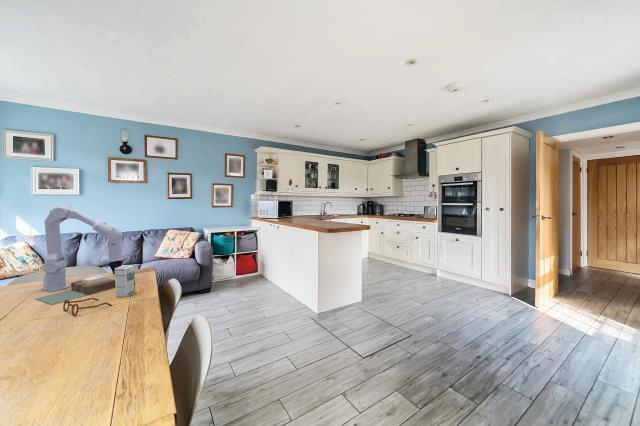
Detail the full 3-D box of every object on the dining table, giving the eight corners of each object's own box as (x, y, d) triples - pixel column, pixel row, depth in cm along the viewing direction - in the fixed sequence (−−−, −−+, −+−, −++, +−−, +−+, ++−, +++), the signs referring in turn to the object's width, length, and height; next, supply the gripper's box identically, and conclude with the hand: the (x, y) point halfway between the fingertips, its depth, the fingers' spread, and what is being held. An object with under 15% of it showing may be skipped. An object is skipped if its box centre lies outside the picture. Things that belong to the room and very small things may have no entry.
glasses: (62, 311, 111) (62, 299, 111) (99, 300, 123) (99, 290, 123) (75, 317, 105) (75, 305, 105) (113, 306, 117) (113, 295, 116)
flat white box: (82, 282, 135) (82, 278, 135) (102, 278, 143) (102, 274, 143) (88, 284, 133) (88, 280, 133) (108, 279, 141) (108, 275, 141)
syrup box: (126, 297, 127) (126, 268, 126) (115, 296, 127) (114, 267, 126) (135, 293, 132) (134, 265, 132) (124, 292, 132) (123, 264, 132)
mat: (34, 299, 123) (34, 298, 123) (70, 290, 134) (70, 289, 134) (51, 304, 116) (51, 304, 116) (87, 295, 128) (87, 294, 128)
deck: (71, 290, 135) (71, 282, 135) (98, 283, 146) (98, 276, 146) (88, 295, 129) (88, 287, 128) (115, 287, 140) (115, 280, 139)
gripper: (104, 253, 138) (105, 278, 138) (133, 249, 151) (133, 272, 152) (96, 252, 141) (97, 277, 141) (125, 248, 154) (126, 270, 155)
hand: (115, 274), depth 147 cm, fingers closed
